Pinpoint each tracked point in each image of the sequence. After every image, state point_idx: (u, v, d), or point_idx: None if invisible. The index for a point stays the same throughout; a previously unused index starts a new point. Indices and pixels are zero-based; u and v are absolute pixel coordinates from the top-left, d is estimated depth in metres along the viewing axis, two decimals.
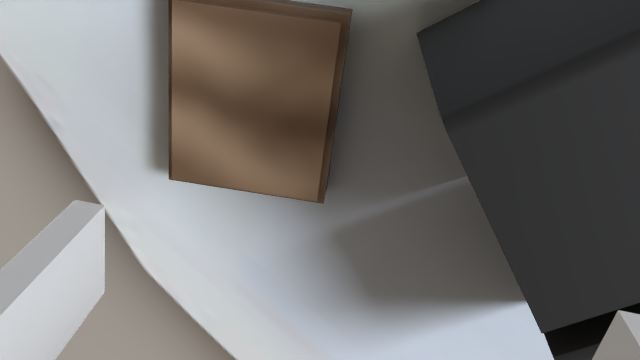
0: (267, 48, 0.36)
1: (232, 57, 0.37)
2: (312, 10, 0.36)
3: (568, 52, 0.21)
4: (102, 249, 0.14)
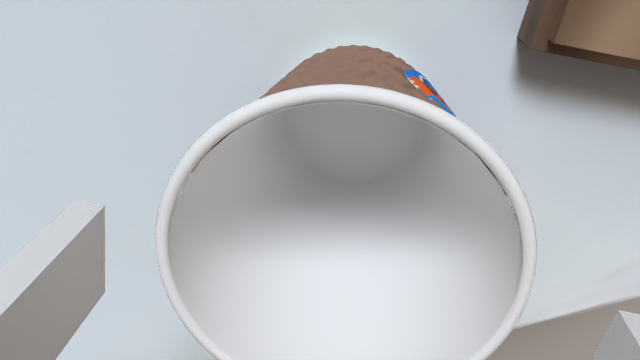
0: None
1: None
2: None
3: None
4: (102, 249, 0.14)
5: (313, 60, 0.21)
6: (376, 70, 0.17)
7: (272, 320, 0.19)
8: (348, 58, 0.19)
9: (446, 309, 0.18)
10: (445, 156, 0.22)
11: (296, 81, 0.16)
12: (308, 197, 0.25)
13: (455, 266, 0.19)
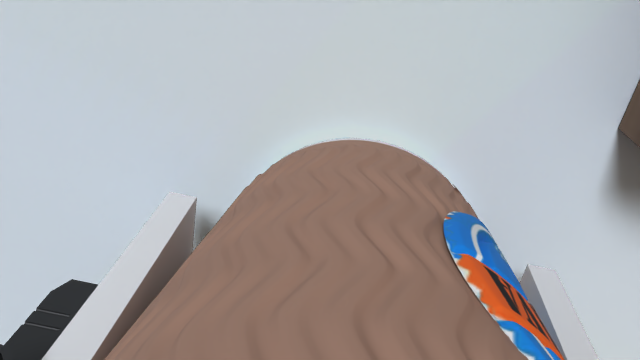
0: None
1: None
2: None
3: None
4: (191, 237, 0.15)
5: (278, 188, 0.12)
6: (393, 256, 0.08)
7: None
8: (338, 203, 0.10)
9: None
10: None
11: (216, 310, 0.07)
12: None
13: None
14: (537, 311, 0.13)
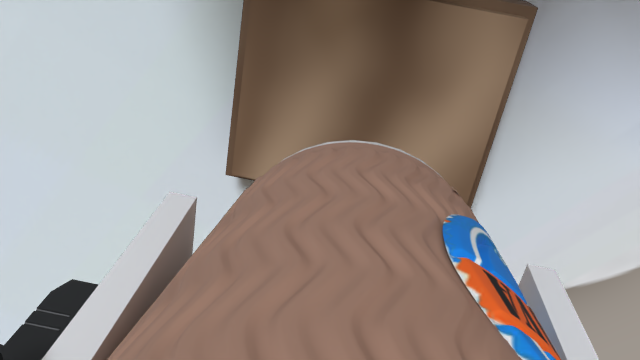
0: (287, 70, 0.28)
1: (299, 116, 0.29)
2: (244, 5, 0.27)
3: None
4: (191, 238, 0.15)
5: (278, 191, 0.12)
6: (392, 260, 0.08)
7: None
8: (338, 207, 0.10)
9: None
10: None
11: (215, 315, 0.07)
12: None
13: None
14: (537, 311, 0.13)
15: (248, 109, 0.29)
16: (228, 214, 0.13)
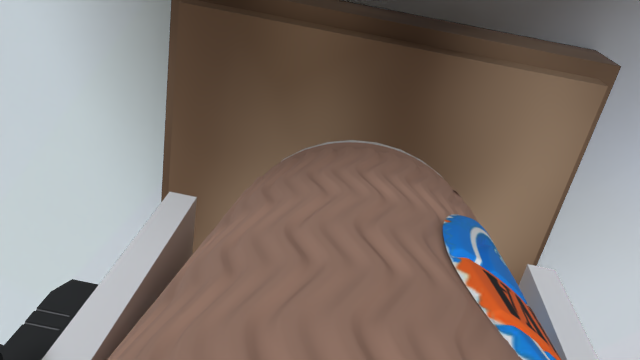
0: (236, 154, 0.19)
1: None
2: (170, 57, 0.18)
3: None
4: (191, 237, 0.15)
5: (278, 191, 0.12)
6: (392, 260, 0.08)
7: None
8: (338, 207, 0.10)
9: None
10: None
11: (215, 315, 0.07)
12: None
13: None
14: (537, 311, 0.13)
15: None
16: (228, 214, 0.13)
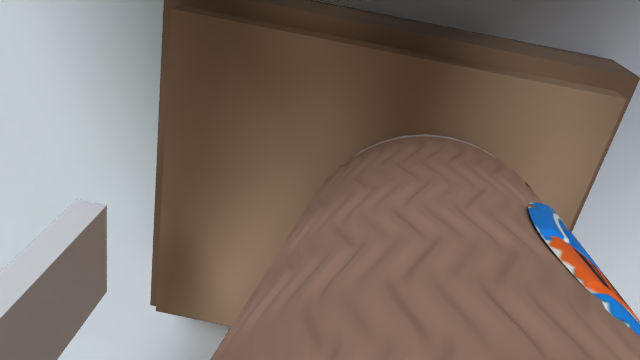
0: (232, 168, 0.18)
1: (253, 234, 0.19)
2: (163, 66, 0.17)
3: None
4: (104, 248, 0.14)
5: (371, 178, 0.13)
6: (495, 236, 0.10)
7: None
8: (434, 190, 0.11)
9: None
10: None
11: (352, 275, 0.08)
12: None
13: None
14: None
15: (175, 222, 0.19)
16: (318, 199, 0.14)
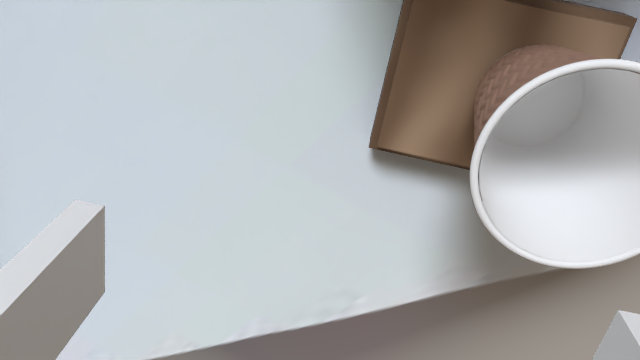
0: (433, 63, 0.36)
1: (438, 100, 0.37)
2: (402, 12, 0.35)
3: None
4: (102, 249, 0.14)
5: (528, 52, 0.31)
6: None
7: (511, 220, 0.29)
8: (561, 50, 0.29)
9: (632, 212, 0.28)
10: (610, 121, 0.32)
11: (550, 62, 0.26)
12: (498, 153, 0.35)
13: (634, 187, 0.29)
14: None
15: (398, 94, 0.37)
16: (499, 67, 0.32)
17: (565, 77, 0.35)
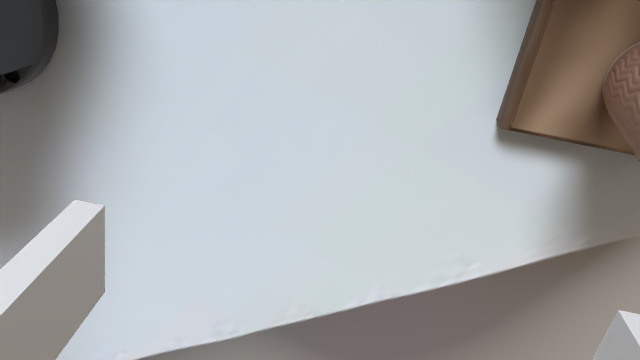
0: (568, 54, 0.42)
1: (569, 85, 0.43)
2: (542, 10, 0.41)
3: None
4: (102, 249, 0.14)
5: None
6: None
7: None
8: None
9: None
10: None
11: None
12: None
13: None
14: None
15: (534, 81, 0.43)
16: (637, 56, 0.38)
17: None
